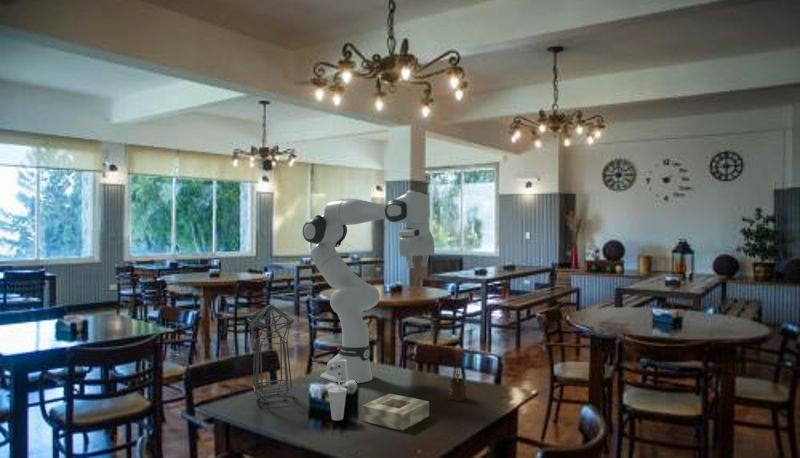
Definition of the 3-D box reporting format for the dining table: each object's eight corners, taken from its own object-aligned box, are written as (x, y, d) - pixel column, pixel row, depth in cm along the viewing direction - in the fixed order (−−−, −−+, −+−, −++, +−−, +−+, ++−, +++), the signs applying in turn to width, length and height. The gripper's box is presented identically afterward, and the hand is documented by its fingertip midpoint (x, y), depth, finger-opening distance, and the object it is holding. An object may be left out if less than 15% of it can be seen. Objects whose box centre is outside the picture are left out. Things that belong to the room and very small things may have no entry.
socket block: (362, 420, 183) (362, 405, 183) (390, 407, 197) (390, 393, 197) (402, 430, 174) (402, 414, 174) (429, 416, 188) (429, 401, 188)
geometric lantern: (297, 402, 202) (295, 306, 201) (252, 409, 197) (250, 309, 196) (289, 390, 217) (287, 300, 216) (247, 395, 211) (245, 303, 210)
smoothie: (343, 422, 182) (343, 379, 182) (325, 421, 183) (325, 378, 183) (349, 416, 188) (349, 374, 188) (331, 414, 189) (331, 373, 189)
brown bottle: (465, 396, 209) (465, 364, 209) (465, 401, 203) (465, 368, 203) (449, 396, 210) (449, 364, 210) (449, 401, 204) (449, 368, 204)
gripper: (424, 231, 226) (424, 265, 226) (396, 231, 209) (396, 268, 209) (438, 231, 223) (438, 266, 223) (410, 231, 206) (410, 269, 206)
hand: (417, 267), depth 216 cm, fingers open, 8 cm apart
